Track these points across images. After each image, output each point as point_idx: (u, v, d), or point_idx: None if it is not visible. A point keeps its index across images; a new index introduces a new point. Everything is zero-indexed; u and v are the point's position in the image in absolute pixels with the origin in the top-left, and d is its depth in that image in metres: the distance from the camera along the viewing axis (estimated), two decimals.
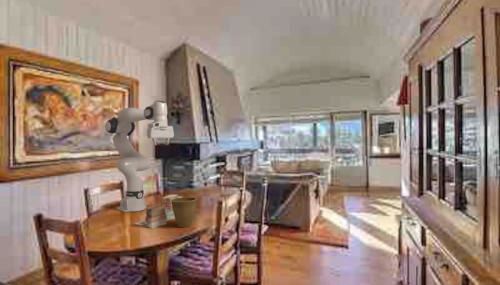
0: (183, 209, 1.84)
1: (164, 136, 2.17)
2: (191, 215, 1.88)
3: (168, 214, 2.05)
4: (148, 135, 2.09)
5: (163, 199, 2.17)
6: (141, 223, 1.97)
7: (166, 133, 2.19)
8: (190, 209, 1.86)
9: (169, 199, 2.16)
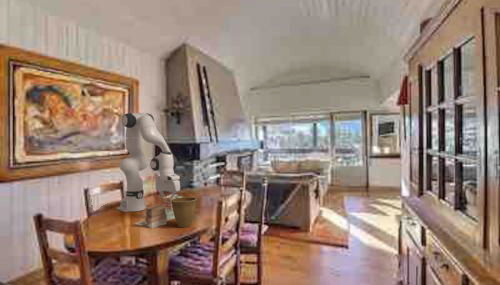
0: (183, 209, 1.84)
1: None
2: (191, 215, 1.88)
3: (168, 214, 2.05)
4: (177, 189, 2.01)
5: (164, 199, 2.17)
6: (141, 223, 1.97)
7: None
8: (190, 209, 1.86)
9: (170, 199, 2.16)
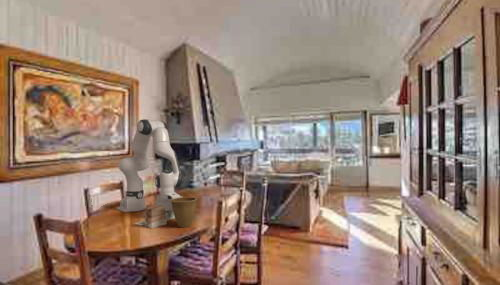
0: (183, 209, 1.84)
1: None
2: (191, 215, 1.88)
3: (168, 214, 2.05)
4: None
5: None
6: (141, 223, 1.97)
7: None
8: (190, 209, 1.86)
9: None
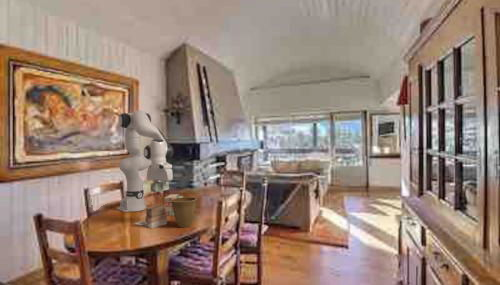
0: (183, 209, 1.84)
1: None
2: (191, 215, 1.88)
3: (160, 185, 1.94)
4: (170, 178, 1.91)
5: (165, 199, 2.17)
6: (141, 223, 1.97)
7: None
8: (190, 209, 1.86)
9: (171, 199, 2.17)
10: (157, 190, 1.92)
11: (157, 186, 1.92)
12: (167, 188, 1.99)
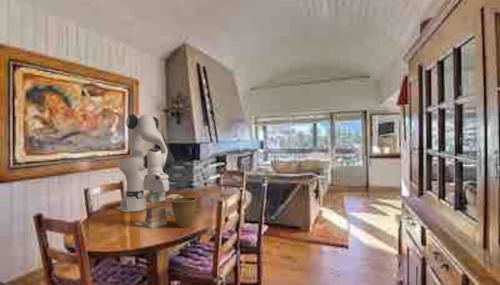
0: (183, 209, 1.84)
1: None
2: (191, 215, 1.88)
3: (156, 195, 1.90)
4: (166, 189, 1.87)
5: (166, 199, 2.18)
6: (141, 223, 1.97)
7: None
8: (190, 209, 1.86)
9: None
10: (153, 201, 1.88)
11: (153, 197, 1.88)
12: (163, 199, 1.94)
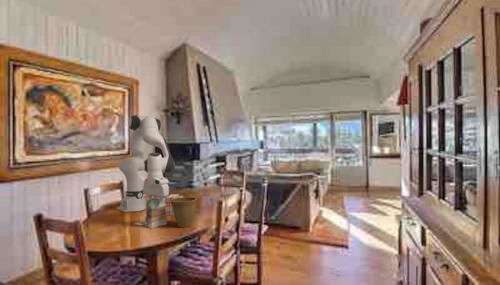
0: (183, 209, 1.84)
1: None
2: (191, 215, 1.88)
3: (156, 201, 1.90)
4: (166, 193, 1.87)
5: (166, 199, 2.18)
6: (141, 223, 1.97)
7: None
8: (190, 209, 1.86)
9: None
10: (152, 207, 1.88)
11: (153, 203, 1.88)
12: (163, 205, 1.94)
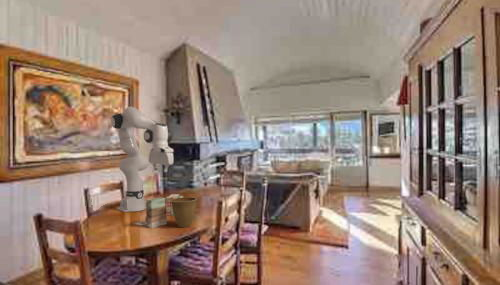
0: (183, 209, 1.84)
1: None
2: (191, 215, 1.88)
3: (156, 201, 1.90)
4: (170, 162, 1.94)
5: (167, 199, 2.18)
6: (141, 223, 1.97)
7: None
8: (190, 209, 1.86)
9: None
10: (152, 207, 1.88)
11: (153, 203, 1.88)
12: (163, 205, 1.94)
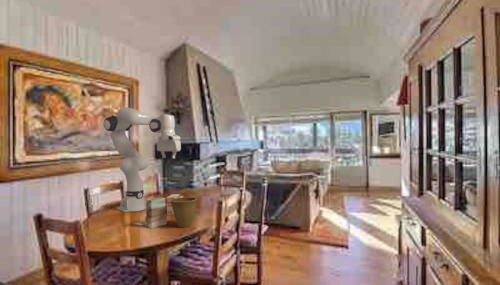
0: (183, 209, 1.84)
1: None
2: (191, 215, 1.88)
3: (156, 201, 1.90)
4: (178, 148, 2.07)
5: (167, 199, 2.18)
6: (141, 223, 1.97)
7: None
8: (190, 209, 1.86)
9: (174, 198, 2.18)
10: (152, 207, 1.88)
11: (153, 203, 1.88)
12: (163, 205, 1.94)
